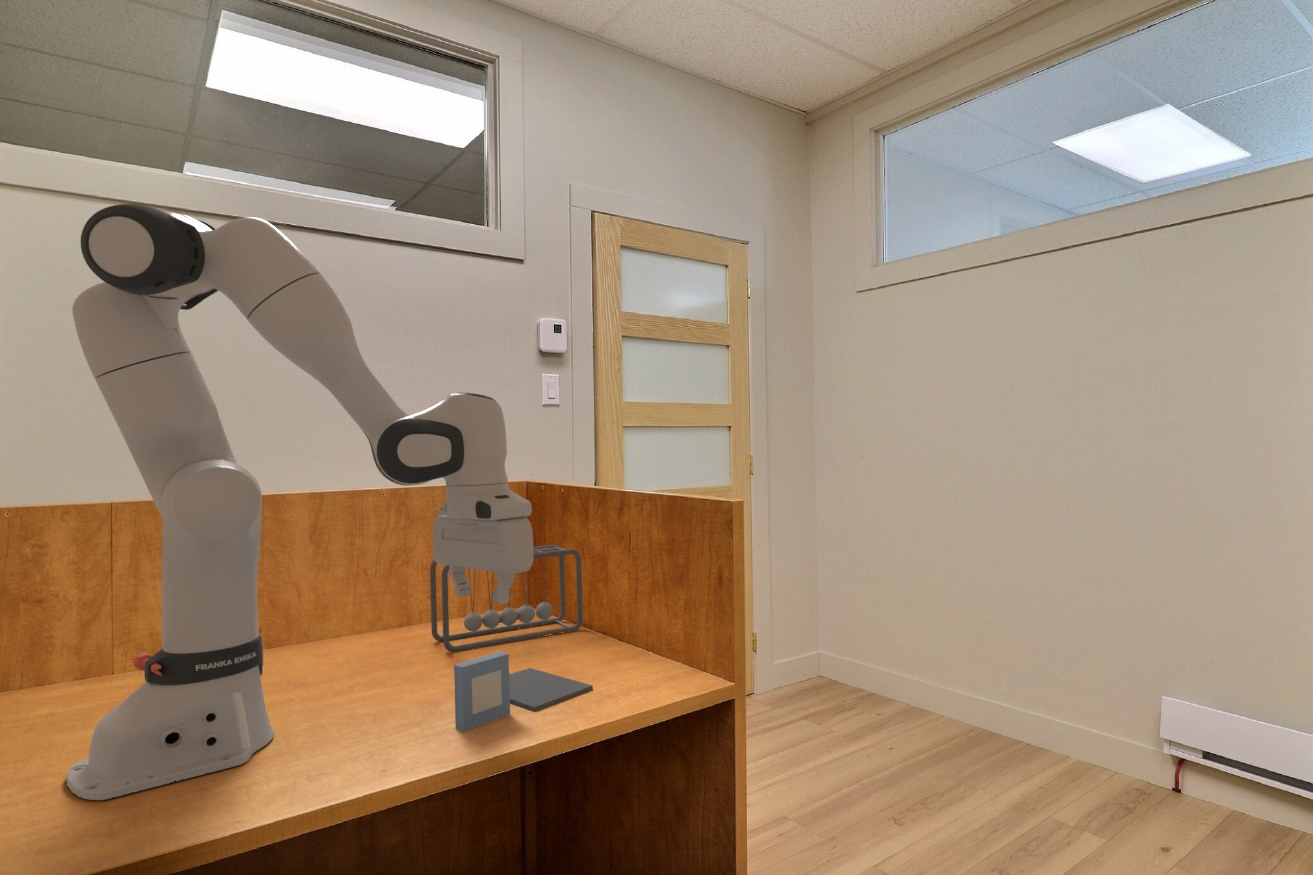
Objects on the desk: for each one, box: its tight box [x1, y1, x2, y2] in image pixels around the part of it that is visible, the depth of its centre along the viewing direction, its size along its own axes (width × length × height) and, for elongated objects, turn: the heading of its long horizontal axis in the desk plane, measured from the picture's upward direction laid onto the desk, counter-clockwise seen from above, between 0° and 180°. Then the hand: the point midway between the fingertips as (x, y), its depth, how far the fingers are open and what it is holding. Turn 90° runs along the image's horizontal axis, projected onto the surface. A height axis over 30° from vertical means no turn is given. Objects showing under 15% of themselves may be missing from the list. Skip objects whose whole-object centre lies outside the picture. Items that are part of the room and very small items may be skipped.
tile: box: [453, 651, 511, 733], centre depth 103 cm, size 2×8×9 cm, turn 139°
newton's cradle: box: [429, 544, 584, 653], centre depth 151 cm, size 30×10×18 cm, turn 121°
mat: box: [509, 667, 594, 712], centre depth 116 cm, size 12×16×1 cm
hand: (481, 599), depth 104 cm, fingers open, 8 cm apart
